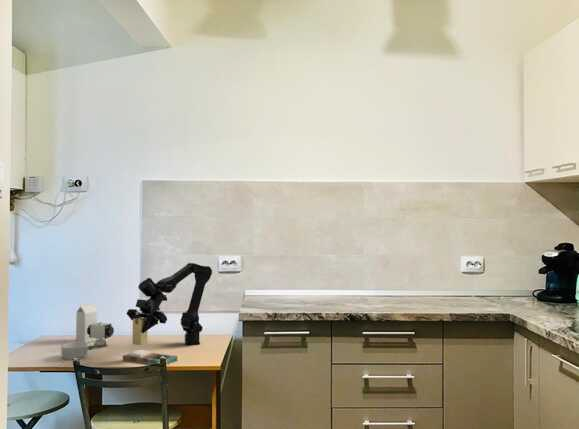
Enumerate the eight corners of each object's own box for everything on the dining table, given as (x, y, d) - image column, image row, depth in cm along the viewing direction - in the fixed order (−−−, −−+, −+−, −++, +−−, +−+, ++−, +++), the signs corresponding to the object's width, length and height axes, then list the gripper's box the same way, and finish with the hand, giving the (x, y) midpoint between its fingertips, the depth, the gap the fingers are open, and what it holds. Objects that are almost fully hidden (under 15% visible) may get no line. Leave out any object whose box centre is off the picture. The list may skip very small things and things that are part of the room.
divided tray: (177, 360, 211) (177, 353, 211) (164, 366, 202) (164, 358, 202) (136, 355, 219) (136, 348, 219) (122, 360, 211) (122, 353, 211)
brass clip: (139, 341, 216) (139, 317, 216) (147, 342, 214) (147, 317, 214) (132, 344, 212) (132, 318, 212) (140, 345, 210) (140, 319, 210)
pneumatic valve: (108, 348, 231) (108, 323, 232) (86, 347, 234) (86, 322, 234) (114, 345, 237) (115, 321, 237) (93, 344, 239) (93, 320, 239)
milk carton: (97, 340, 248) (97, 303, 248) (84, 343, 242) (85, 305, 242) (88, 339, 251) (88, 302, 252) (75, 341, 245) (76, 304, 246)
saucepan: (102, 360, 211) (102, 347, 211) (55, 361, 210) (56, 348, 211) (111, 353, 222) (111, 341, 223) (67, 354, 222) (67, 341, 222)
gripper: (129, 291, 221) (111, 319, 210) (163, 293, 214) (147, 323, 203) (140, 305, 228) (124, 334, 217) (173, 308, 221) (158, 338, 210)
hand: (137, 332), depth 212 cm, fingers closed on brass clip, 4 cm apart
